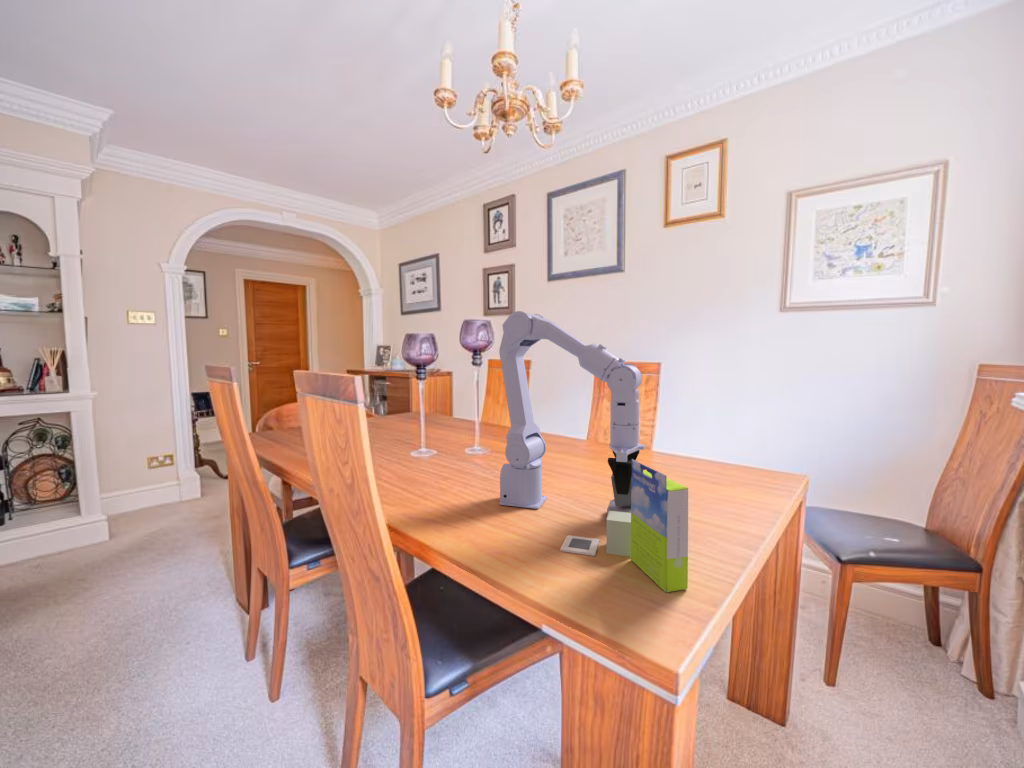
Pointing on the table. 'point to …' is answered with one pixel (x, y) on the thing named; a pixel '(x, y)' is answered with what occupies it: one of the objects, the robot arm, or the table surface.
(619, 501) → the charcoal block
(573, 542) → the card
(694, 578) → the table surface
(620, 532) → the sage block
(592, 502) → the table surface
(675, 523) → the box
